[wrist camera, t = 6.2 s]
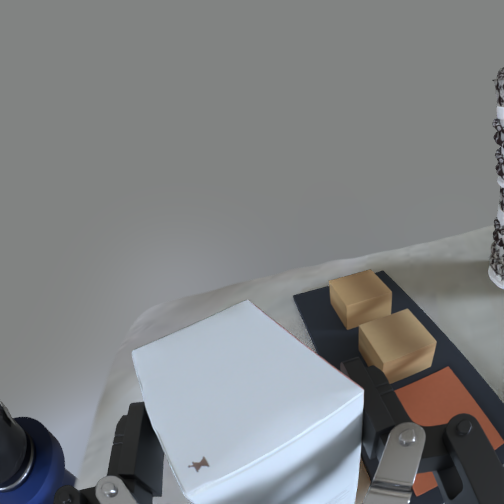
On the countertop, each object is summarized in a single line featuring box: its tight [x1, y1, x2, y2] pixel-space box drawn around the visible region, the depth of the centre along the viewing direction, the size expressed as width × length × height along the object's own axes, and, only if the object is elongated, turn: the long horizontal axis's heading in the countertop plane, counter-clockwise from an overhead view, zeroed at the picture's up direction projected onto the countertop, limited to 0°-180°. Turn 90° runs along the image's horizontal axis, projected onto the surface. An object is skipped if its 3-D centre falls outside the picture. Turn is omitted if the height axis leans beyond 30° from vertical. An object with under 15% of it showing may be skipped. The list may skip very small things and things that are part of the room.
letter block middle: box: [359, 309, 437, 384], centre depth 23 cm, size 5×5×3 cm
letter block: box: [329, 269, 392, 330], centre depth 30 cm, size 5×5×3 cm
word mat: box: [293, 271, 504, 504], centre depth 24 cm, size 12×28×1 cm, turn 7°
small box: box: [132, 300, 364, 504], centre depth 13 cm, size 8×6×13 cm
